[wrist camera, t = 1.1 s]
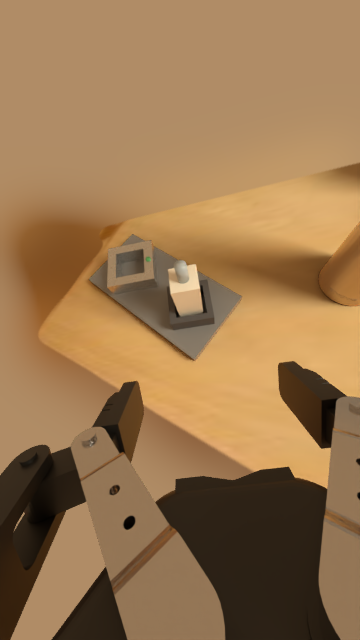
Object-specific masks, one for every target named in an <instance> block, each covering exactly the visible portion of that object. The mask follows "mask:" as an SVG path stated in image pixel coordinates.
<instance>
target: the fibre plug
mask: <svg viewBox="0 0 360 640" xmlns="http://www.w3.org/2000/svg"><path fill="white" fill-rule="evenodd" d="M168 274H169V284H170V293H171V296H172V298H173V301H174V303H175V306H176V308H177V311H178V313H179V315H180V317H184V316H190V315H196V314H203V307H202V299H201V292H200V286H199V280H198V274H197V268H196V264H193V265H188V266H187V265H186V262H185V261H183V260H178V261H176V262H175V263H174V268H172V269H168Z"/></svg>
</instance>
